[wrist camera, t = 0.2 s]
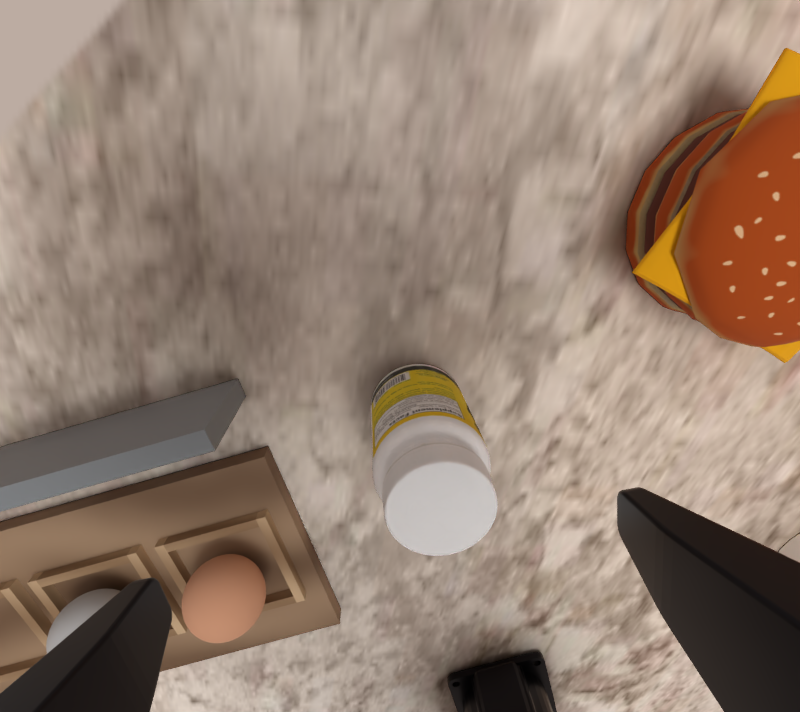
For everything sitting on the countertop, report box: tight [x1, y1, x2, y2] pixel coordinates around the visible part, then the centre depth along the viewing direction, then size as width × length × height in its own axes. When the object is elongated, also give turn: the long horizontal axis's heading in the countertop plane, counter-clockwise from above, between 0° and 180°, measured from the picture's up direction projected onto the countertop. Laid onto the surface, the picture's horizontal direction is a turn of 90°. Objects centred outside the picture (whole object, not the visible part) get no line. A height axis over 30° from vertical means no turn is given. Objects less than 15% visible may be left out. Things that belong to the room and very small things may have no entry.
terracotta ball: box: [182, 554, 266, 643], centre depth 23 cm, size 4×4×4 cm
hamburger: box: [626, 48, 800, 363], centre depth 19 cm, size 9×10×7 cm
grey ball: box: [46, 589, 120, 653], centre depth 24 cm, size 4×4×4 cm
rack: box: [0, 447, 341, 693], centre depth 26 cm, size 12×22×2 cm, turn 106°
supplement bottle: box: [371, 364, 498, 556], centre depth 20 cm, size 5×5×8 cm
